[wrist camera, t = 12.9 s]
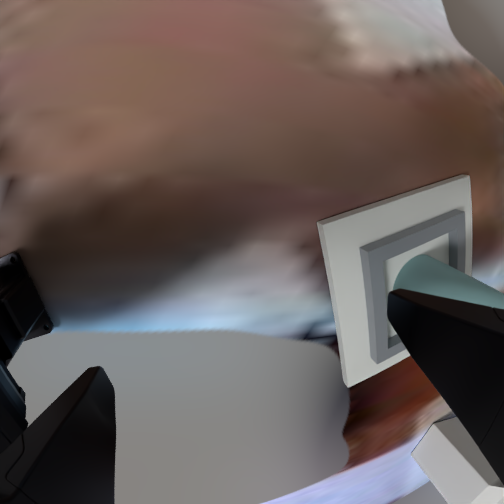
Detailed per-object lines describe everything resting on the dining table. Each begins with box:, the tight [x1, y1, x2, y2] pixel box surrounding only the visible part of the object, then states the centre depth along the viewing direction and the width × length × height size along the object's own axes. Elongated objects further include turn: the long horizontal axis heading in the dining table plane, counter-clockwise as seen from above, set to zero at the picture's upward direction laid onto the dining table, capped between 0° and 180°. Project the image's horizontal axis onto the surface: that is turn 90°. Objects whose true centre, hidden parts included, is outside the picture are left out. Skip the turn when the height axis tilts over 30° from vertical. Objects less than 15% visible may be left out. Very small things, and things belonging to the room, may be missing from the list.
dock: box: [317, 174, 472, 387], centre depth 25 cm, size 16×16×2 cm
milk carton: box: [411, 417, 504, 504], centre depth 29 cm, size 7×7×19 cm
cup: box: [393, 255, 504, 309], centre depth 20 cm, size 6×6×12 cm
